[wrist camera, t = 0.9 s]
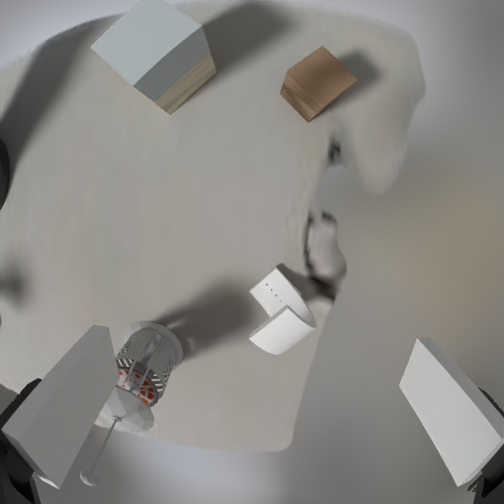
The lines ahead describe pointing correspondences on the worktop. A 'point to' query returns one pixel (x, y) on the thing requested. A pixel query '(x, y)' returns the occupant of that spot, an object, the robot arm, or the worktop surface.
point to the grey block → (153, 46)
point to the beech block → (187, 85)
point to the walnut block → (315, 83)
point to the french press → (139, 380)
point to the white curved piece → (280, 314)
